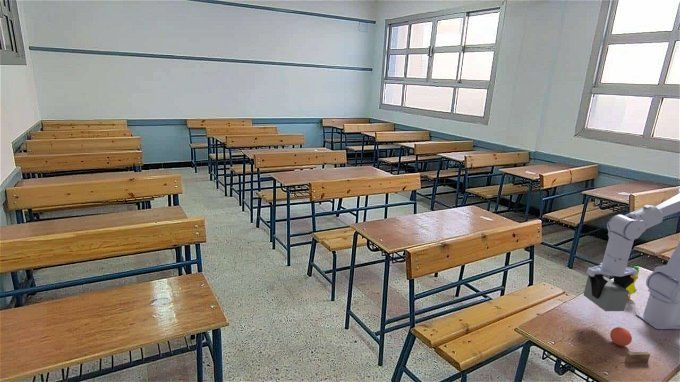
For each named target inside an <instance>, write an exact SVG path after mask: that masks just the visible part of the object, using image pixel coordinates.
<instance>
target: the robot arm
mask: <svg viewBox="0 0 680 382" xmlns="http://www.w3.org/2000/svg"><path fill="white" fill-rule="evenodd" d="M679 212H680V188H679V189H677V192H676V194H675V195H674V196H671V197H670V198H668V199H666V200H665V201H662V202H660V203H659V204H657V205H655V206H654V205H652V204H645V205H642V207H640V208H639V209H636V210H634V211H632V212H631V211H630V212H629V213H626V214H616V215H614V216H612V217H611V218H610V219H609V221H608V222H607V223H606V228H607V230H608V233H607V236H608V241H607V245H606V247H605V248H606V249H605V253H604V256H603V258H602V262H600V263H599V265H596V266H592V267H588V268H587V270H586V274H587V275H588V276H587V277H589V278H590V282H591V288H592V296H594V297H595V298H599V297H600V295H601V292H602V289H603V287H604V286H605V284H606V283H607V282H608V281H607V280H605V279H604V277H605V276H611V277H612V276H613V282H615V283H616V284H618V285H620V286H621V287H623V288H624V289H626V288H627V287H628V286H629V285H631V284H632V283H634V279H633V278H631V276H633V277H636V275H637V272H638V271H637V270H635V269H634V267H628V262H629V259H630V254H631V252H632V248H633V245H634V241H635V240H637V239H639V237H641V236H642V234H643V233H645V231H647V230H648V229H649V228H651V227H654V226H656V225H659V224H661V223H662V222H663V220H664V217H667V216H671V215H673V214H676V213H679ZM645 284H646V287H647V288H648V290H647V292H648V293H649V296H648V298H647V301H646V305H645V308H644V311H643V312H636V313H635V315H636V316H637V317H639V318H640V319H641V320H643V321H644V322H646V323H647V324H649V325H650V326H652V327H653V328H655V329H656V330H679V329H680V240H679V241H678V244H677V245H676V247H675V249H674V251H673V252H672V255H670V258H669V260H668V262H667V263H666V264H664V265H659V266H656V267H655V268H654V270H653V271H652V272H651V273H650V274H649V275H648V276H647V278H646V281H645Z"/></svg>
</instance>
